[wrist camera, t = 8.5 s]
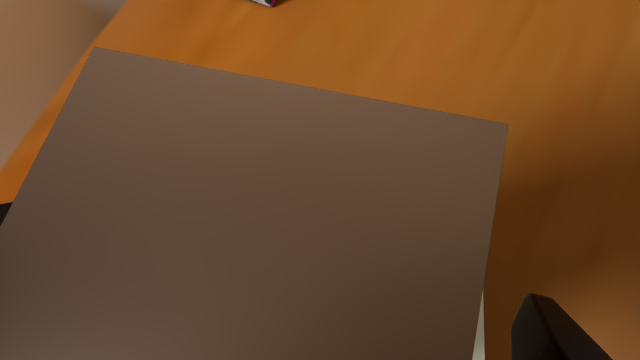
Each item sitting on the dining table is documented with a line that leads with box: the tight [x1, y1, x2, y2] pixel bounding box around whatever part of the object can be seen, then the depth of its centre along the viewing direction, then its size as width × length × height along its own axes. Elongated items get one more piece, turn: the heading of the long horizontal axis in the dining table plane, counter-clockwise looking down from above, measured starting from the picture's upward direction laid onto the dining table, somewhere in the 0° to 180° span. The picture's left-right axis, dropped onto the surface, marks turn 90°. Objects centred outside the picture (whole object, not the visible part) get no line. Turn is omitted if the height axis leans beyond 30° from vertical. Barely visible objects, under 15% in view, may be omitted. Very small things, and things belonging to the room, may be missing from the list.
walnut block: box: [0, 47, 508, 360], centre depth 10 cm, size 5×5×13 cm
